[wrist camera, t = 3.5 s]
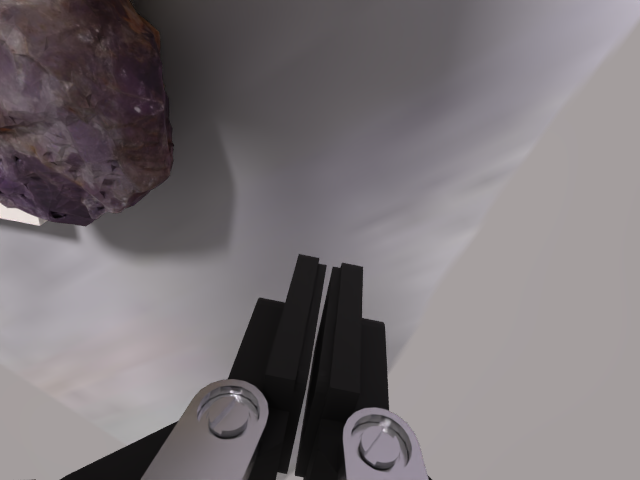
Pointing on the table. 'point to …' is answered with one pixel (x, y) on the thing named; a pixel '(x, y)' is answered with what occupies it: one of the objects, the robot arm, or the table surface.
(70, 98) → the rock
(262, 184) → the table surface
